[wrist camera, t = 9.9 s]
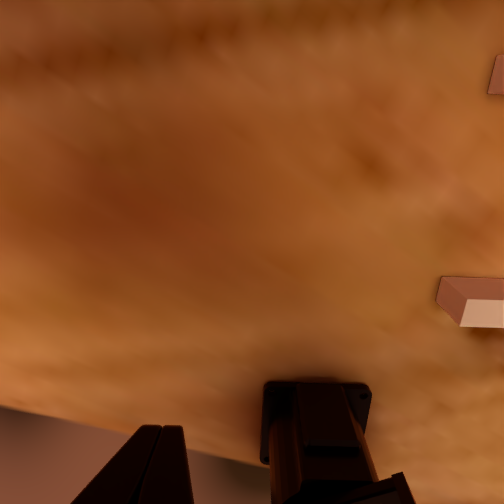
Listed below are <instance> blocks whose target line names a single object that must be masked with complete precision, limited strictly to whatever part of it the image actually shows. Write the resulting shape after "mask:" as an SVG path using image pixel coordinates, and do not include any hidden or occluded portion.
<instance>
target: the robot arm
mask: <svg viewBox="0 0 504 504" xmlns="http://www.w3.org/2000/svg"><path fill="white" fill-rule="evenodd" d="M270 390H275V391H273V392H270ZM361 393H364V394H361ZM371 398H372V393H371V391H370V389H369V387H368V386H366V385H357V384H325V383H293V382H268V383H266V384H265V385H264V388H263V406H262V424H261V442H260V461H261V462H262V463H263V464H266V465H270V485H271V504H416V502H415V500H414V497H413V495H412V493H411V490H410V488H409V486H408V483H407V481H406V479H405V476H404V474H403V472H400V473H396V474H393V475H392V477H391V478H387V479H384V480H381V481H379V479H378V476H377V473H376V470H375V467H374V464H373V461H372V458H371V455H370V452H369V449H368V446H367V443H366V440H365V437H364V434H365V429H366V424H367V419H368V414H369V408H370V403H371ZM267 456H268V457H267ZM71 504H194V499H193V493H192V486H191V479H190V472H189V465H188V458H187V452H186V445H185V438H184V431H183V427H182V426H180V425H165V426H163V428H162V426H161V425H149V424H145V425H142V426H141V427H140V428H139V429H138V430H137V431H136V432H135V433H134V434H133V435H132V436H131V438H130V439H129V440H128V441H127V442H126V443H125V444H124V445H123V446H122V447H121V449H120V450H119V451H118V452H117V453H116V454H115V455H114V456H113V457H112V458H111V459H110V461H109V462H108V463H107V464H106V465H105V466H104V467H103V468H102V469H101V471H100V472H99V473H98V474H97V475H96V476H95V477H94V478H93V479H92V480H91V482H89V484H88V485H87V486H86V487H85V488H84V489H83V490H82V491H81V492H80V494H79V495H78V496H77V497H76V498H75V499H74V500H73V501H72V502H71Z"/></svg>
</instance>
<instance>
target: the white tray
mask: <svg viewBox="0 0 504 504" xmlns="http://www.w3.org/2000/svg"><path fill="white" fill-rule="evenodd" d="M487 94H504V54H502V55H498V56H497V57H496V61H495V65H494V69H493V73H492V77H491V81H490V85H489V89H488V93H487ZM436 302H437V303H438V304H439V305H440V306H441V307H442V308H443V309H444V310H445V311H446V312H447V314H448V315H449V316H450V317H451V318H452V319H453V320H454V321H455V322H456V323H457V324H458V325H459V326H464V327H495V328H504V279H501V278H470V277H442V278H441V282H440V286H439V290H438V294H437V298H436Z"/></svg>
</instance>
